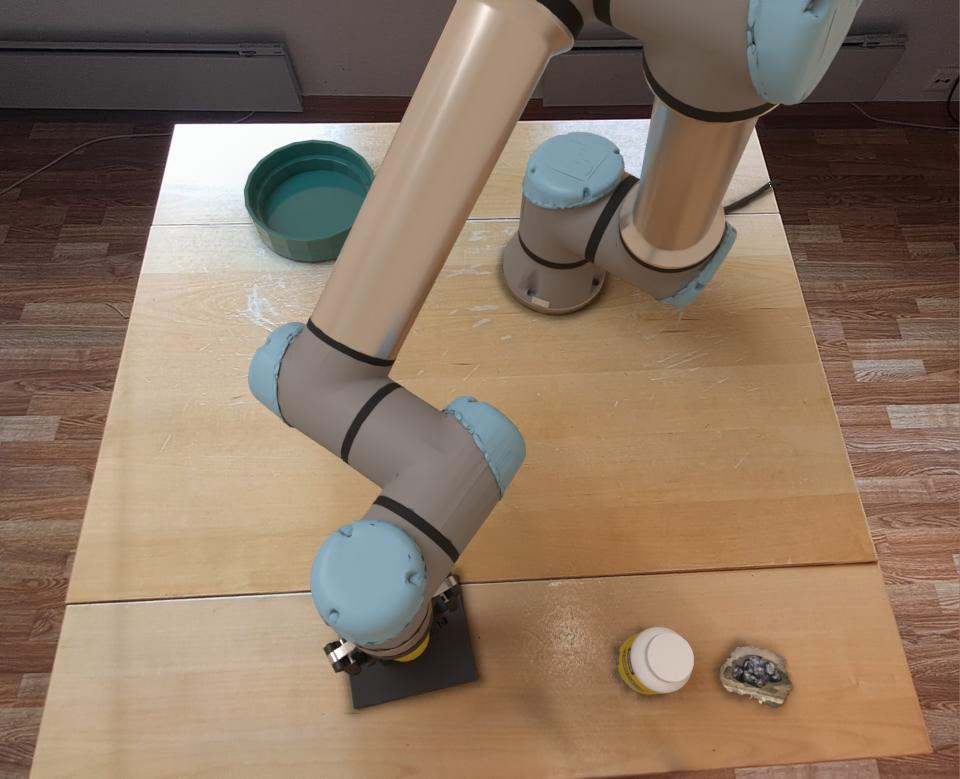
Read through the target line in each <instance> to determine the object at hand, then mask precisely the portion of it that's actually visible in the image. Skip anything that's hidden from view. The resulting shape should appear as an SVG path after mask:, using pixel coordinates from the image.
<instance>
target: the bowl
mask: <svg viewBox="0 0 960 779" xmlns="http://www.w3.org/2000/svg"><path fill="white" fill-rule="evenodd" d="M374 179H375V173H374V170H373V169H372V167H371V166H370V164H369V162H368V161H367V160H366V158H365V157H364V156H362V155H361V154H360V153H359V152H357V151H356V150H354V149H353V148H352V147H350V146H347V145H345V144H342V143H339V142H336V141H334V140H325V139H324V140H323V139H308V140H306V139H305V140H301V141H300V140H299V141H293V142H290V143H288V144H286V145H282V146H280V147H278V148H275V149H273V150H272V151H271V152H270V153H268V154H266V155H265V156H263V157H262V158H261V159H260V160H259V161H257V163H256V165H255V166H254V167H253V168H252V170H251V171H249V173H248V176H247V178H246V182H245V185H244V188H243V198H244V207H245V209H246V212H247V214H248V217H249V219H250V221H251V223H252V226H253V228H254V231H255V232H256V233H257V236H258V237H259V239H260V241H261V242H262V244H264V245H265V246H267V248H269V249H270V250H271V251H273V252H274V253H275V254H277V255H280V256H281V257H285V258H287V259H291V260H293V261H301V262H312V263H314V262H321V261H326V260H333V259H337V258H338V256H339V254H340V252H341V250H342V247H343V245H344V243H345V241H346V239H347V237H348V235H349V232H350V230H351V228H352V226H353V224H354V222H355V220H356V217H357V215H358V213H359V211H360V209H361V207H362V204H363V202H364V200H365V198H366V196H367V194H368V192H369V189H370V187H371V185H372V183H373V181H374Z"/></svg>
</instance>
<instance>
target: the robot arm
mask: <svg viewBox="0 0 960 779" xmlns="http://www.w3.org/2000/svg"><path fill="white" fill-rule="evenodd" d="M863 1H864V0H456V2H455V4H454V7H453V9H452V11H451V13H450V15H449V17H448V19H447V21H446V24H445V25H444V28H443V29H442V32H441V35H440V37H439V39H438V41H437V43H436V45H435V47H434V49H433V52H432V54H431V56H430V58H429V60H428V62H427V65H426V67H425V69H424V70H423V72H422V75H421V78H420V80H419V82H418V84H417V87H416V88H415V90H414V92H413V95H412V97H411V99H410V102H409V103H408V106H407V108H406V110H405V112H404V114H403V116H402V118H401V121H400V122H399V125H398V127H397V129H396V131H395V133H394V135H393V138H392V140H391V142H390V144H389V147H388V148H387V151H386V153H385V155H384V157H383V160H382V161H381V164H380V166H379V168H378V171H377V172H376V174H375V175H374V177H375V179H374V181H373V183H372V185H371V187H370V189H369V192H368V194H367V196H366V198H365V200H364V202H363V204H362V207H361V209H360V211H359V213H358V215H357V217H356V220H355V222H354V224H353V226H352V228H351V230H350V232H349V235H348V237H347V239H346V241H345V243H344V245H343V247H342V250H341V252H340V254H339V256H338V257H336V261H335V263H334V265H333V267H332V269H331V271H330V274H329V276H328V278H327V280H326V282H325V284H324V286H323V289H322V291H321V292H320V295H319V297H318V299H317V302H316V303H315V305H314V308H313V310H312V312H311V314H310V316H309V317H308V319H307V322H306V323H304V322H301V321H290V322H286V323H283V324H281V325H279V326H278V327H277V328H275V329H274V330H273V331H271V332H270V333H269V334H268V335H267V336H266V339H265V342H264V344H263V345H262V346H260V347H258V348H257V349H256V351H255V352H254V354H253V356H252V359H251V361H250V365H249V368H248V373H247V374H248V375H247V384H248V387H249V391H250V393H251V395H252V396H253V397H254V398H255V399H256V400H257V401H258V402H259V403H260V404H261V405H263V406H264V407H265V408H267V410H269V411H270V412H271V413H273V415H275V416H276V417H277V418H279V419H280V420H281V421H282V423H283V424H285V425H286V426H287V427H288V428H291V429H296V430H297V431H298V432H299V433H302V434H303V435H304V436H306V437H308V438H309V439H311V440H312V441H313V442H315V443H316V444H317V445H320V446H321V447H322V448H324V449H325V450H327V451H329V452H330V453H332V455H334V456H335V457H338V458H339V459H341V460H342V462H344V463H345V464H347V465H348V466H349V467H350V468H351V469H353V470H354V471H355V472H358V473H359V474H360V475H362V476H363V477H365V478H366V479H367V480H369V481H370V482H371V483H373V484H375V485H376V486H377V487H379V488H380V489H382V490H381V492H380V493H379V494H378V496H377V497H376V499H375V500H374V501H373V502H372V504H371V506H370V507H369V508H368V510H366V512H365V513H364V515H363V516H361V519H359V520H355V521H352V522H350V523H348V524H345V525H343V526H341V527H340V528H337V529H336V530H335V531H334V532H332V533H331V534H330V535H329V536H328V537H327V538H326V539H325V540H324V541H323V542H322V543H321V545H320V546H319V548H318V550H317V551H316V554H315V556H314V558H313V560H312V563H311V568H310V572H309V574H310V575H309V587H310V594H311V597H312V601H313V604H314V605H315V609H316V610H317V612H318V614H319V615H320V618H321V620H322V621H323V622H324V624H325V625H326V626H327V627H329V628H330V629H332V631H334V633H336V634H337V635H338V636H340V637H341V638H340V639H338V640H333V641H331V642H328V643H326V644H325V646H324V647H323V648H322V650H323V652H324V654H325V655H326V658H327V659H328V661H329V663H330V665H331V667H332V670H333V671H334V673H335V674H338V673H342V672H344V673H346V674H347V675H348V676H349V677H350V676H351V677H353V676H357V675H359V674H360V672H361V671H362V668H361V666H362V665H364V664H366V663H367V665H368V667H370V666H374V665H375V664H376V663H377V661H378V660H379V662H380V663H381V664H383V665H384V666H385V667H386V666H387V665H389V664H390V663H391V661H390V660H393V659H398V658H402V657H404V656H407V655H409V654H410V653H412V652H413V651H415V650H416V649H417V648H418V647H419V646H420V645H421V644H422V643H423V642H424V640H425V639H426V637H427V635H428V633H429V631H430V630H431V632H432V634H433V635H435V634H436V633H438V632H439V630H438V627H439V629H441V628H443V627H445V626H446V625H447V624H449V621H448V620H447V618H446V616H445V615H444V612H445V611H446V610H448V609H449V611H450V612H452V611H456V610H457V609H458V607H460V605H459V601H458V598H457V597H458V595H461V593H462V591H463V590H462V589H461V587H460V585H459V582H458V583H457V582H456V580H455V578H454V577H453V574H452V572H451V571H452V569H454V567H455V564H456V563H457V561H458V560H459V558H460V557H461V555H462V554H463V552H464V551H465V550H466V548H467V547H468V545H469V544H470V542H472V540H473V539H474V537H475V536H476V535H477V533H478V531H479V530H480V528H482V526H483V524H484V523H485V521H486V520H487V518H488V517H489V516H490V515H491V513H492V512H493V510H494V509H495V507H496V506H497V505H498V503H499V502H500V501H502V499H503V498H504V497H505V494H506V490H507V489H508V488H509V486H510V484H511V483H512V481H513V479H514V478H515V476H516V475H517V473H518V471H519V469H520V468H521V466H522V465H523V464H524V462H525V460H526V456H527V445H526V444H527V443H526V441H525V438H524V436H523V434H522V433H521V431H520V430H519V428H518V427H517V426H516V424H515V423H514V422H513V421H512V420H511V419H510V418H509V417H508V416H507V415H506V414H504V413H503V412H502V411H501V410H499V409H498V408H497V407H494V406H493V405H492V404H490V403H488V402H486V401H482V400H481V401H479V400H478V399H477V398H475V397H474V396H469V395H462V396H458V397H456V398H454V399H453V400H452V401H451V402H450V403H448V404H447V405H446V406H444V407H443V409H442V410H440V409H439V408H436V407H435V406H433V405H432V404H430V403H429V402H427V401H426V400H424V399H422V398H421V397H419V396H418V395H416V394H414V393H413V392H411V391H410V390H408V389H407V388H406V387H404V386H403V385H401V384H400V383H398V382H396V381H395V380H393V379H392V378H391V377H390V376H389V374H390V373H391V371H392V369H393V366H394V364H395V362H396V360H397V357H398V355H399V353H400V351H401V349H402V347H403V345H404V343H405V341H406V339H407V337H408V335H409V333H410V332H411V330H412V327H413V325H414V324H415V322H416V320H417V318H418V316H419V314H420V312H421V310H422V308H423V306H424V304H425V302H426V300H428V297H429V295H430V293H431V291H432V289H433V287H434V285H435V283H436V281H437V279H438V277H439V275H440V273H441V271H442V269H443V268H444V266H445V263H446V262H447V260H448V258H449V257H450V254H451V252H452V250H453V248H454V246H455V244H456V242H457V241H458V239H459V237H460V235H461V233H462V230H463V229H464V227H465V225H466V223H467V221H468V219H469V218H470V215H471V214H472V211H473V209H474V207H475V206H476V204H477V201H478V200H479V198H480V196H481V194H482V192H483V190H484V188H485V186H486V185H487V182H488V181H489V178H490V176H491V174H492V172H493V171H494V169H495V167H496V165H497V163H498V161H499V158H500V157H501V155H502V153H503V151H504V149H505V148H506V146H507V143H508V142H509V139H510V137H511V136H512V134H513V132H514V130H515V128H516V126H517V124H518V122H519V120H520V119H521V116H522V115H523V113H524V111H525V109H526V107H527V105H528V103H529V101H530V99H531V97H532V95H533V93H534V91H535V89H536V87H537V85H538V84H539V82H540V80H541V78H542V76H543V74H544V72H545V70H546V69H547V66H548V64H549V62H550V60H551V59H552V58H553V57H555V56H559V55H561V54H563V53H567V52H569V51H571V50H572V49H573V47H574V45H575V42H576V40H577V39H578V37H579V35H580V33H581V31H582V29H583V27H585V24H586V23H587V22H588V21H590V20H591V19H597V20H598V21H599V22H600V23H602V24H605V25H607V26H609V27H611V28H614V29H616V30H618V31H621V32H623V33H625V34H627V35H629V36H631V37H634V38H636V39H638V40H640V41H642V42H643V44H642V51H641V66H642V72H643V75H644V80H645V81H646V84H647V85H648V88H649V90H650V91H651V92H652V93H653V96H654V98H653V103H652V108H651V109H652V110H651V115H650V121H649V125H648V132H647V138H646V143H645V148H644V154H643V160H642V166H641V171H640V176H639V177H637V176H635V175H633V174H631V173H629V172H627V171H626V170H625V169H626V164H625V160H624V155H623V154H621V151H620V148H619V147H618V146H617V145H616V144H615V143H614V142H613V141H612V140H610V139H609V138H607V137H604V136H602V135H600V134H596V133H593V132H587V131H571V132H570V131H569V132H568V133H566V134H557V135H554V136H553V137H552V136H551V137H550V138H548V139H546V140H545V141H543V142H542V143H540V144H539V145H538V146H537V147H536V148H535V149H534V150H533V152H532V154H530V157H529V158H528V161H527V164H526V168H525V172H524V175H523V176H524V177H523V178H522V183H521V189H522V194H521V202H520V211H519V212H520V213H519V220H518V221H519V222H518V228H517V230H516V232H515V233H514V235H513V236H512V238H511V239H510V240H509V241H508V243H507V245H506V247H505V249H504V252H503V256H502V261H501V262H502V263H501V276H502V280H503V282H504V286H505V287H506V289H507V290H508V292H509V294H510V296H512V298H514V300H516V301H517V303H519V304H520V305H522V306H524V307H526V308H527V309H529V310H532V311H534V312H536V313H540V314H545V315H555V316H556V315H557V316H558V315H567V314H572V313H575V312H578V311H579V310H582V309H583V308H585V307H587V306H589V305H590V304H591V303H592V302H593V301H594V300H596V298H597V296H598V295H599V293H600V292H601V291H602V287H603V285H604V282H605V278H606V273H610V275H613V276H615V277H617V278H618V279H620V280H622V281H624V282H625V283H627V284H629V285H631V286H633V287H635V288H636V289H638V290H640V291H642V292H643V293H645V294H646V295H648V296H649V295H650V296H651V297H653V298H654V299H655V301H657V302H658V303H662V304H663V303H664V304H667V305H669V306H671V307H672V308H675V309H679V310H680V309H681V310H683V309H686V308H687V307H690V306H691V304H693V303H694V302H695V301H696V300H697V298H698V297H699V296H700V295H701V293H702V292H703V291H704V289H705V287H706V286H708V284H709V283H710V281H711V280H712V279H713V278H714V276H715V274H717V271H719V269H720V268H721V266H722V264H723V262H724V261H725V259H726V258H727V256H728V254H729V253H730V252H731V250H732V248H733V246H734V244H735V242H736V239H737V236H738V231H737V229H736V228H735V226H733V225H731V224H730V222H729V221H728V220H726V214H725V213H728V212H731V211H734V210H736V209H737V208H740V207H741V206H742V205H745V204H746V203H749V202H751V201H752V200H754V199H756V198H758V197H759V196H761V195H762V194H763V193H765V192H766V191H768V190H769V189H771V188H772V187H774V186H778V187H779V186H782V183H783V182H782V180H780V179H777V178H775V179H772V180H770V181H768V182H766V183H765V184H764V185H762V186H761V187H759V188H758V189H756V190H755V191H753V192H752V193H750V194H748V195H746V196H744V197H742V198H741V199H739V200H737V201H735V202H733V203H730V204H728V205H726V206H724V205H723V200H724V199H725V196H726V193H727V191H728V189H729V188H730V184H731V182H732V179H733V178H734V175H735V173H736V170H737V168H738V166H739V164H740V161H741V159H742V157H743V155H744V152H745V150H746V147H747V145H748V142H749V141H750V138H751V137H752V134H753V131H754V130H755V127H756V124H757V122H758V120H759V118H760V117H762V116H764V115H766V114H768V113H770V112H772V111H773V110H774V109H775V108H777V107H778V106H779V105H781V104H782V105H785V106H793V105H797V104H801V103H802V102H803V101H805V100H806V99H807V98H808V97H809V96H810V95H811V94H812V93H813V91H814V90H815V89H816V87H817V86H818V85H819V83H820V82H821V81H822V79H823V78H824V76H825V75H826V72H827V71H828V69H829V67H830V66H831V64H832V62H833V60H834V59H835V57H836V55H837V54H838V52H839V50H840V49H841V46H842V45H843V43H844V41H845V39H846V38H847V35H848V33H849V31H850V29H851V26H852V25H853V24H852V23H853V22H854V19H855V17H856V14H857V11H858V10H859V8H860V7H861V5H862V3H863ZM769 183H770V184H769ZM770 185H771V187H770ZM436 598H437V599H436ZM437 625H438V626H437ZM345 640H347V642H346V641H345Z"/></svg>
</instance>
